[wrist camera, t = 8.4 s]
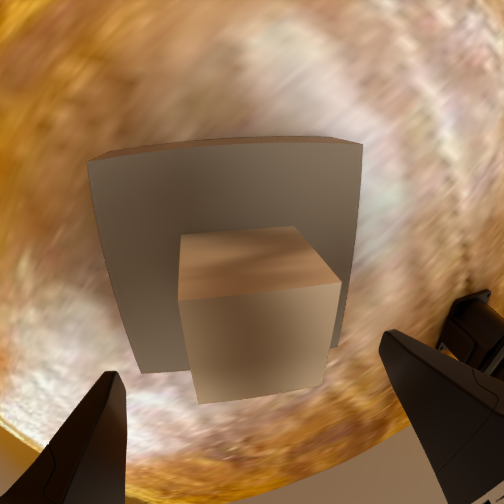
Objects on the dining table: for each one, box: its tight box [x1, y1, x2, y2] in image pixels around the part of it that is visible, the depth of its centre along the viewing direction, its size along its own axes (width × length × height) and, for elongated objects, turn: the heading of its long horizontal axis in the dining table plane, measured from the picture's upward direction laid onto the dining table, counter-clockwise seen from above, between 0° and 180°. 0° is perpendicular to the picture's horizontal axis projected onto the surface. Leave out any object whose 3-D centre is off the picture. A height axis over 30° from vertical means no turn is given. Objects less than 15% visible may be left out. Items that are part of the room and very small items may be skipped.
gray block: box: [87, 136, 363, 374], centre depth 16 cm, size 12×12×4 cm
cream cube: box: [178, 226, 342, 404], centre depth 12 cm, size 5×5×5 cm
